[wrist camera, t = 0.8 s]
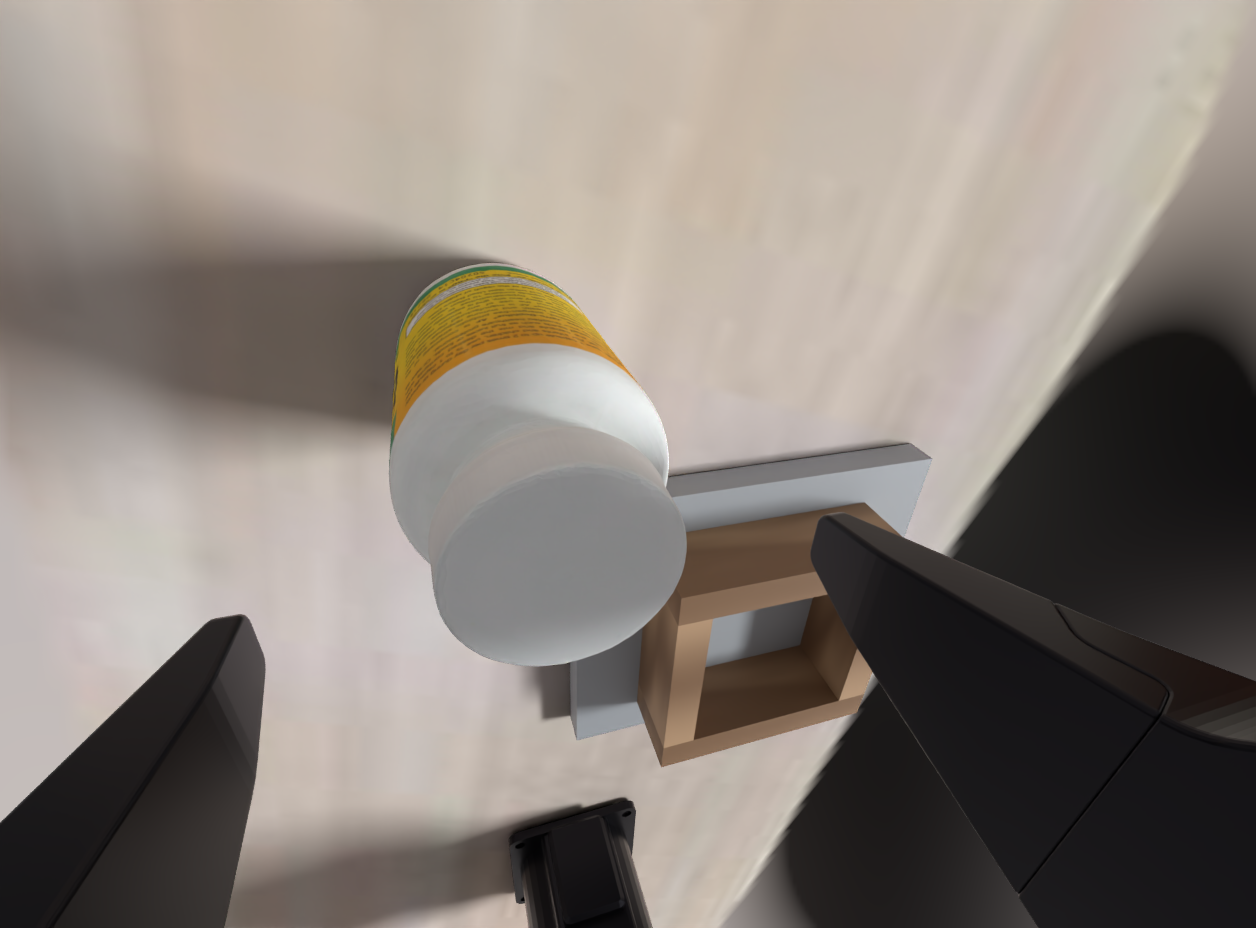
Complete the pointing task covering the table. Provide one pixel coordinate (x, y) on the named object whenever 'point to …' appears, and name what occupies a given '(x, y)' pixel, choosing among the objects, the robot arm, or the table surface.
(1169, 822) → the robot arm
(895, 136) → the table surface
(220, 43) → the table surface
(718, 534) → the collar
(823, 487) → the board
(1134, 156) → the table surface
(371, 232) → the table surface
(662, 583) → the supplement bottle
